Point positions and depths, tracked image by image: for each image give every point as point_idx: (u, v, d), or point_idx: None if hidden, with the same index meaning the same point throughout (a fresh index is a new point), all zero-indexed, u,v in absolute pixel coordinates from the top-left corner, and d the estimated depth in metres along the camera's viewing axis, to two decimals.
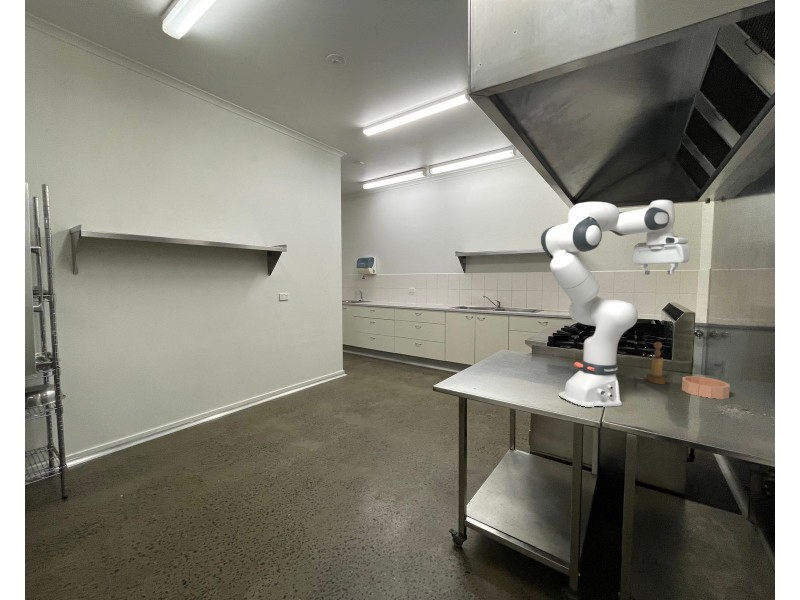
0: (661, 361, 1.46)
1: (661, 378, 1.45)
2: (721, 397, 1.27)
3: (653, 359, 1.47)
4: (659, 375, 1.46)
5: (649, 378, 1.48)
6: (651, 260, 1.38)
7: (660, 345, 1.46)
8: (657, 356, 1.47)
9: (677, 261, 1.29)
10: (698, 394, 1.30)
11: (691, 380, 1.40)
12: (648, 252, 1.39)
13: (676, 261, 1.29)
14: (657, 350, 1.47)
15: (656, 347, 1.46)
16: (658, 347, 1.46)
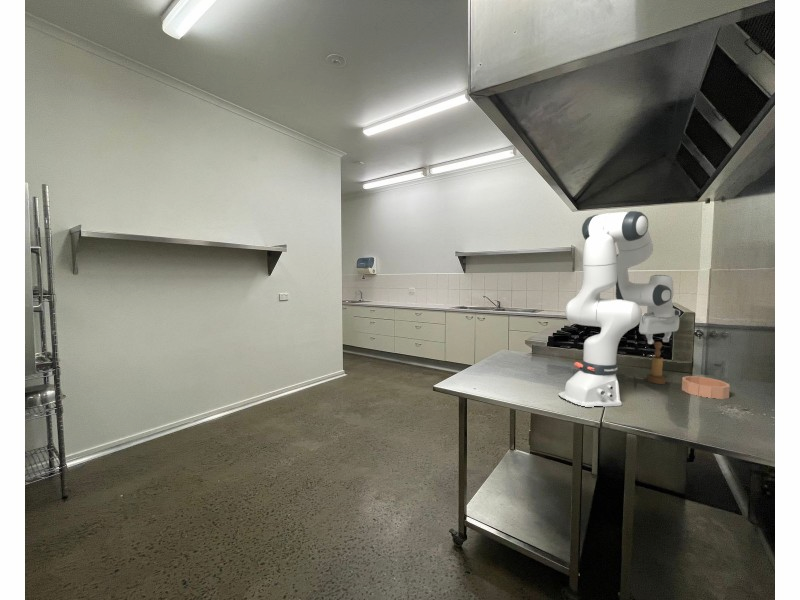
0: (661, 361, 1.46)
1: (661, 378, 1.45)
2: (721, 397, 1.27)
3: (653, 359, 1.47)
4: (659, 375, 1.46)
5: (649, 378, 1.48)
6: (660, 331, 1.44)
7: (660, 345, 1.46)
8: (657, 356, 1.47)
9: (675, 330, 1.47)
10: (698, 394, 1.30)
11: (691, 380, 1.40)
12: (657, 322, 1.44)
13: (674, 330, 1.47)
14: (657, 350, 1.47)
15: (656, 347, 1.46)
16: (658, 347, 1.46)
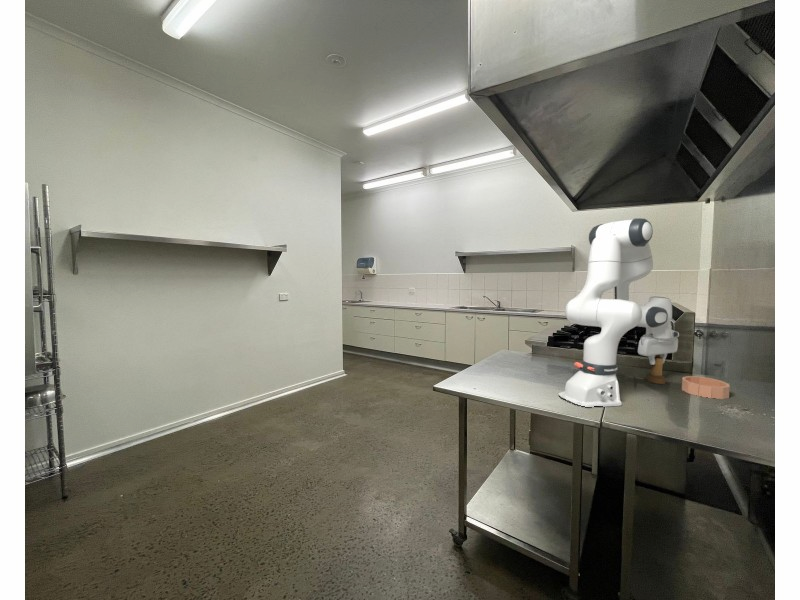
0: (661, 361, 1.46)
1: (661, 378, 1.45)
2: (721, 397, 1.27)
3: None
4: (659, 375, 1.46)
5: (649, 378, 1.48)
6: (659, 352, 1.45)
7: None
8: (657, 356, 1.47)
9: (674, 351, 1.48)
10: (698, 394, 1.30)
11: (691, 380, 1.40)
12: (656, 344, 1.44)
13: (673, 351, 1.48)
14: None
15: None
16: None
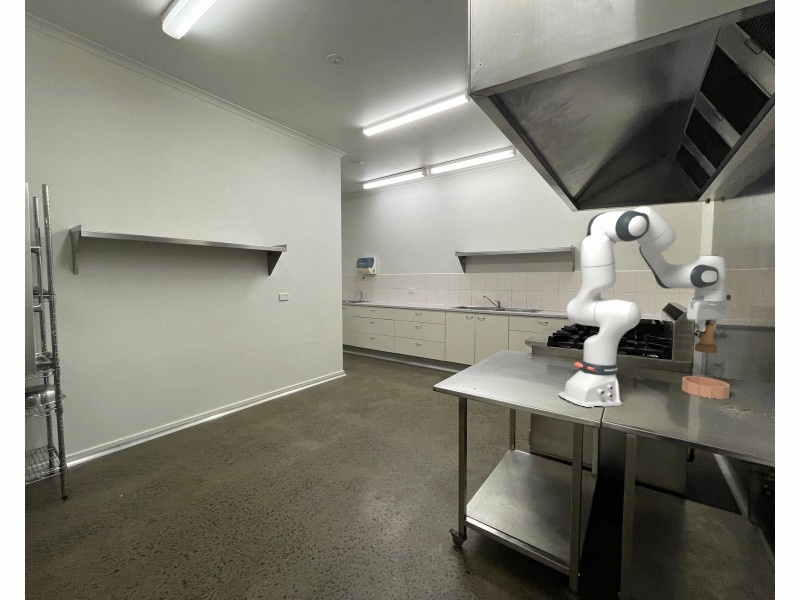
0: (712, 328, 1.31)
1: (712, 347, 1.30)
2: (721, 397, 1.27)
3: None
4: (710, 343, 1.31)
5: (698, 347, 1.33)
6: (710, 317, 1.30)
7: None
8: (707, 322, 1.32)
9: (725, 317, 1.33)
10: (698, 394, 1.30)
11: (691, 380, 1.40)
12: (707, 307, 1.29)
13: (725, 317, 1.33)
14: None
15: None
16: None
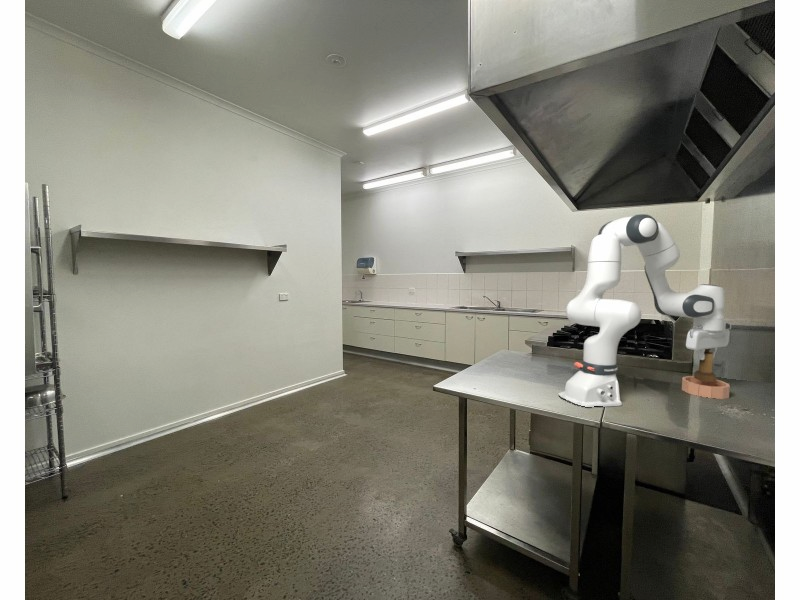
0: (711, 356, 1.31)
1: (711, 375, 1.31)
2: (721, 397, 1.27)
3: None
4: (709, 372, 1.32)
5: (697, 375, 1.34)
6: (709, 346, 1.31)
7: None
8: (706, 351, 1.33)
9: (724, 345, 1.34)
10: (698, 394, 1.30)
11: (691, 380, 1.40)
12: (706, 336, 1.30)
13: (724, 345, 1.34)
14: None
15: None
16: None
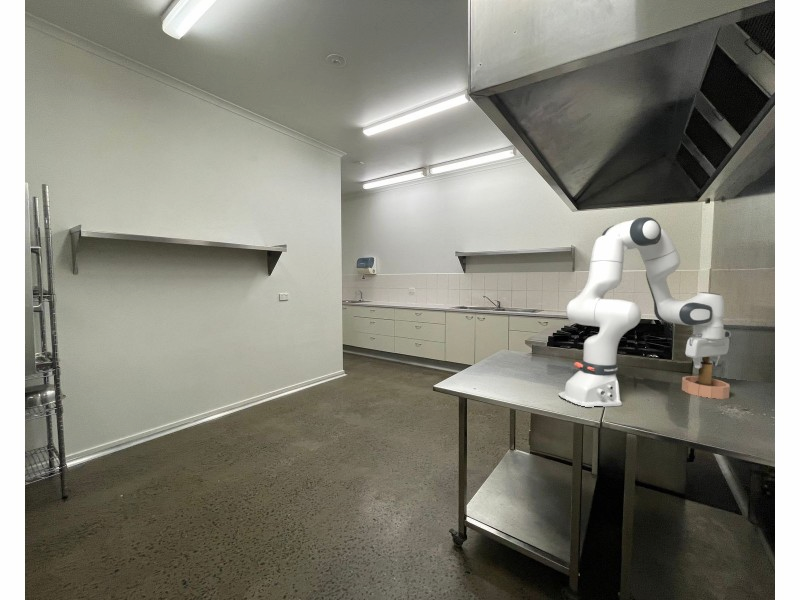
0: (710, 367, 1.32)
1: None
2: (721, 397, 1.27)
3: None
4: (708, 383, 1.32)
5: None
6: (709, 354, 1.31)
7: None
8: (705, 362, 1.33)
9: (724, 353, 1.34)
10: (698, 394, 1.30)
11: (691, 380, 1.40)
12: (706, 344, 1.30)
13: (724, 353, 1.34)
14: None
15: None
16: None
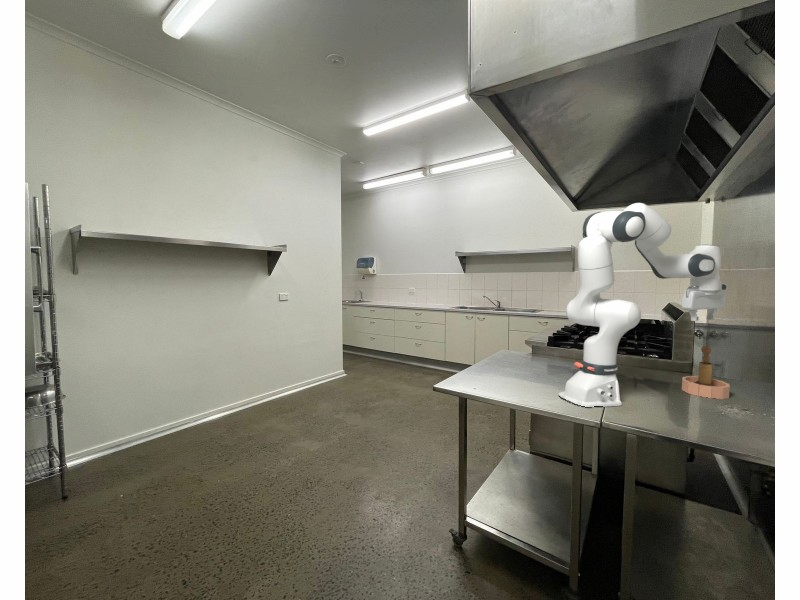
0: (710, 367, 1.32)
1: None
2: (721, 397, 1.27)
3: (701, 365, 1.33)
4: (708, 383, 1.32)
5: None
6: (705, 306, 1.31)
7: (709, 350, 1.32)
8: (706, 362, 1.33)
9: (721, 307, 1.34)
10: (698, 394, 1.30)
11: (691, 380, 1.40)
12: (702, 297, 1.30)
13: (720, 307, 1.34)
14: (706, 355, 1.33)
15: (705, 352, 1.33)
16: (707, 352, 1.32)
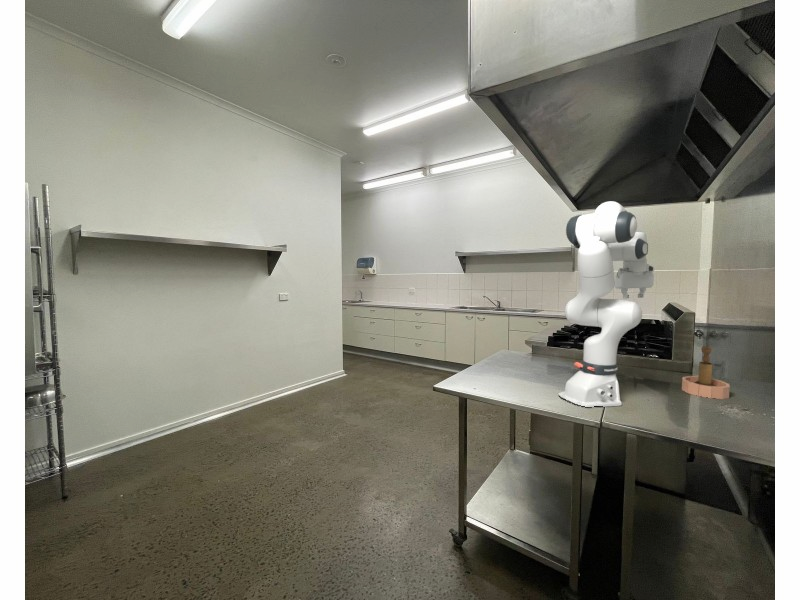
0: (710, 367, 1.32)
1: None
2: (721, 397, 1.27)
3: (701, 365, 1.33)
4: (708, 383, 1.32)
5: None
6: (635, 285, 1.50)
7: (709, 350, 1.32)
8: (706, 362, 1.33)
9: (649, 286, 1.53)
10: (698, 394, 1.30)
11: (691, 380, 1.40)
12: (631, 277, 1.49)
13: (649, 286, 1.53)
14: (706, 355, 1.33)
15: (705, 352, 1.32)
16: (707, 352, 1.32)
